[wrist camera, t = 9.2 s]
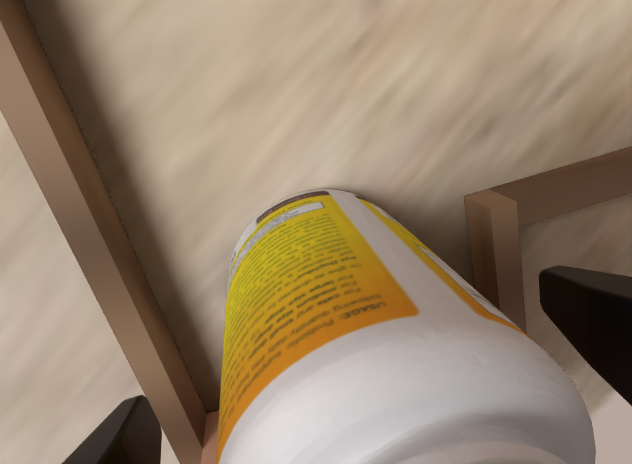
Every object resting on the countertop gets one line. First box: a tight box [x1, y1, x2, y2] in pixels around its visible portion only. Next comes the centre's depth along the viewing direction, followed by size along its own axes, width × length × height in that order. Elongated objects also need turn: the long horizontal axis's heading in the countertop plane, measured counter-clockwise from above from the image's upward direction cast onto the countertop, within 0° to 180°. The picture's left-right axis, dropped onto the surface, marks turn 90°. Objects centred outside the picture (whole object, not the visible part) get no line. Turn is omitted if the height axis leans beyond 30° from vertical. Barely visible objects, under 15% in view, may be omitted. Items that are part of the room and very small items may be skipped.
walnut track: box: [0, 0, 632, 464], centre depth 12 cm, size 18×21×2 cm
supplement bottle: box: [216, 189, 596, 464], centre depth 8 cm, size 6×6×10 cm
